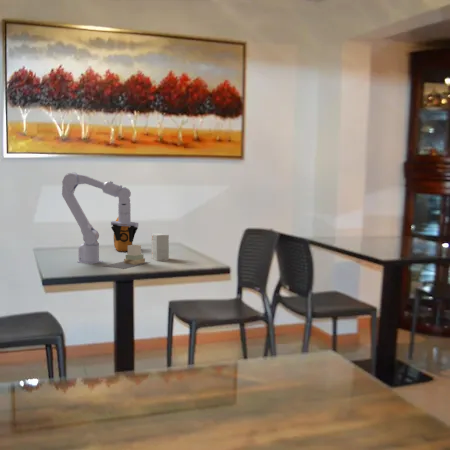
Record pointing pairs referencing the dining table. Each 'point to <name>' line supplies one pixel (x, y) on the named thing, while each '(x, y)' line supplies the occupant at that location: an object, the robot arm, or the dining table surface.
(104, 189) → the robot arm
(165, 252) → the small box
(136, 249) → the offwhite cube
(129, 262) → the maple base slab
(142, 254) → the sage top slab
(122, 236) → the coffee package
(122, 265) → the rubber mat
